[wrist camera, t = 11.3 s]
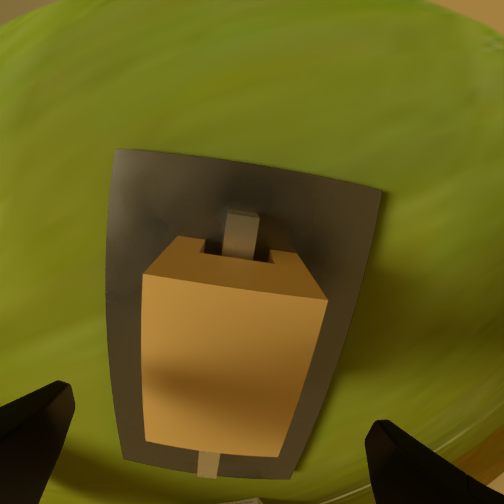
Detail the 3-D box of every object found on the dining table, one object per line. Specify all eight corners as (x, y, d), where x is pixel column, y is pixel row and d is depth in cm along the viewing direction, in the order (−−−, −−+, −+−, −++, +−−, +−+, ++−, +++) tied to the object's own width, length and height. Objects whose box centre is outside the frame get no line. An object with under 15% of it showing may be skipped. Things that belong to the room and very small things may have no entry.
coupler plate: (288, 471, 19) (292, 495, 16) (125, 451, 18) (117, 474, 15) (375, 189, 14) (398, 193, 12) (121, 149, 13) (99, 146, 11)
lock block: (268, 381, 15) (277, 457, 10) (168, 368, 15) (145, 440, 10) (296, 253, 14) (328, 300, 9) (178, 235, 13) (143, 273, 8)
